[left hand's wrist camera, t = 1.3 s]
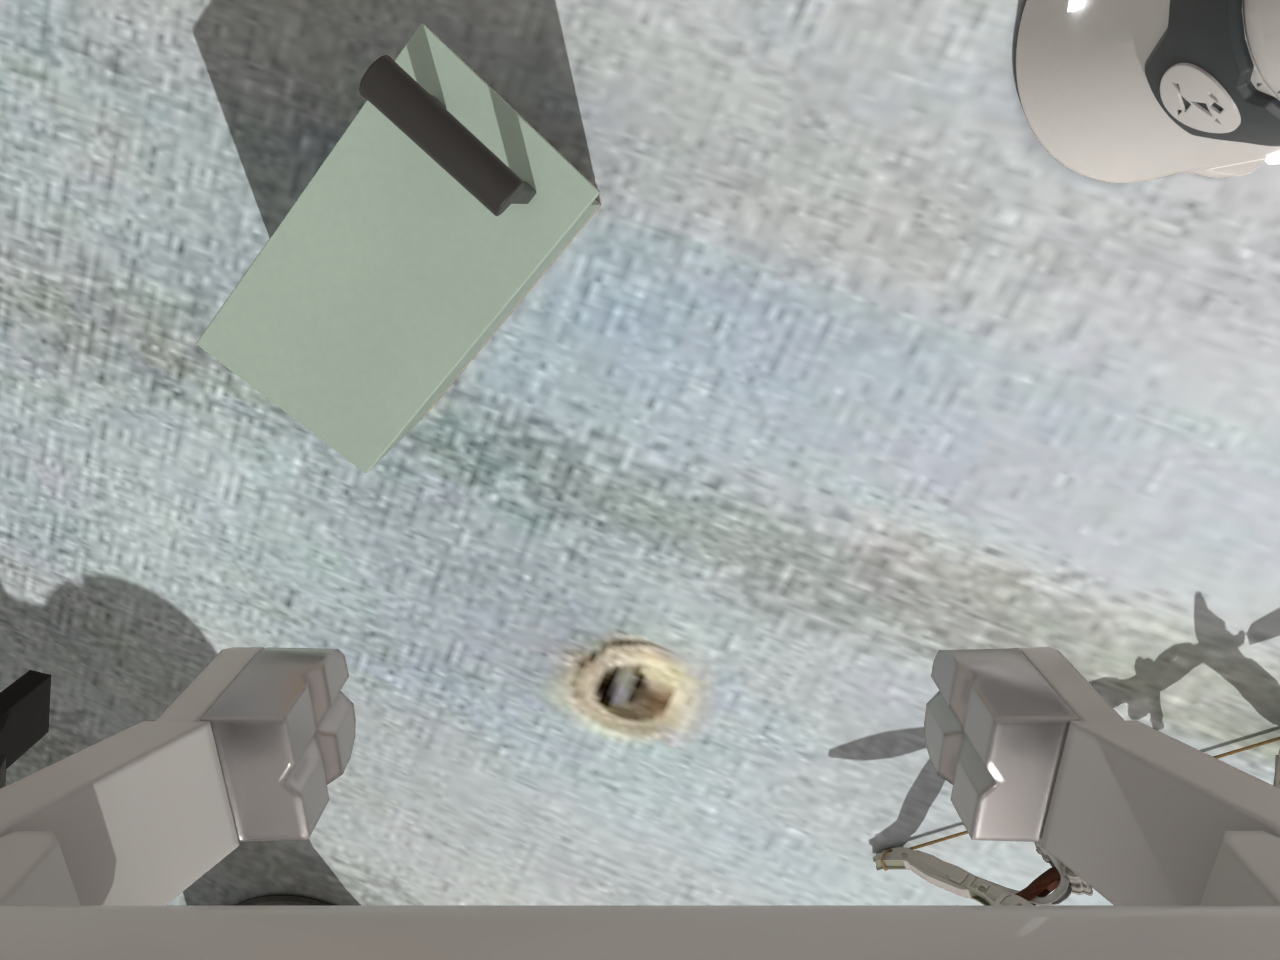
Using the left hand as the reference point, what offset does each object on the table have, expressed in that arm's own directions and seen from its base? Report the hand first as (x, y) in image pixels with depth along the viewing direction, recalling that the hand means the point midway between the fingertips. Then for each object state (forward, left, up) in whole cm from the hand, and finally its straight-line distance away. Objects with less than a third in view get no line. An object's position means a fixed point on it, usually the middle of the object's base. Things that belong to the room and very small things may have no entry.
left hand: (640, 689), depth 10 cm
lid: (+5, -11, -27) cm, 30 cm away
